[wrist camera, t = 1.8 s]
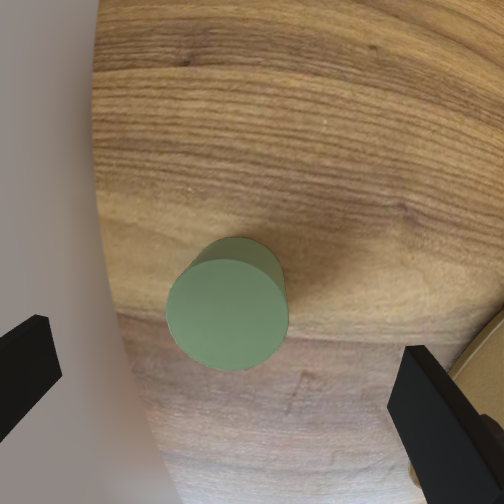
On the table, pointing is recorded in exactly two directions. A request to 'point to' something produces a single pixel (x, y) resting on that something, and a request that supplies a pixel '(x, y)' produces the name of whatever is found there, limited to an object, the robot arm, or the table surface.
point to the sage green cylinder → (230, 305)
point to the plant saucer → (481, 374)
